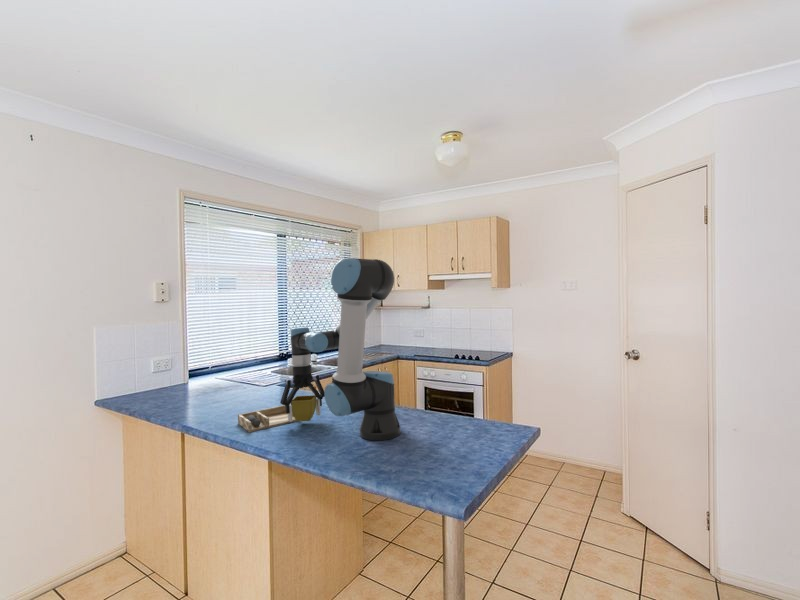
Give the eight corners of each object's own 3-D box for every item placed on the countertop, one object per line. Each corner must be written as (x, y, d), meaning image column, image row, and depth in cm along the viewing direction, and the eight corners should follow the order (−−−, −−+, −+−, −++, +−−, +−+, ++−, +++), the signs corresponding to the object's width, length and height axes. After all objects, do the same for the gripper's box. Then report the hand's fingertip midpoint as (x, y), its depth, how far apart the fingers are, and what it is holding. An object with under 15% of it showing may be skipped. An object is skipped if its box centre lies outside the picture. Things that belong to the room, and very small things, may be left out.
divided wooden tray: (299, 420, 168) (299, 411, 168) (249, 432, 155) (248, 422, 155) (286, 413, 180) (285, 404, 180) (238, 423, 167) (237, 414, 167)
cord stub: (261, 426, 160) (261, 419, 160) (254, 427, 158) (254, 420, 158) (253, 420, 168) (252, 413, 168) (246, 421, 167) (246, 415, 167)
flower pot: (312, 422, 159) (311, 399, 159) (291, 423, 159) (289, 401, 159) (317, 416, 167) (316, 395, 167) (297, 417, 167) (296, 396, 168)
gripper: (324, 360, 174) (326, 410, 173) (269, 368, 159) (272, 422, 159) (332, 361, 168) (334, 413, 167) (276, 369, 153) (279, 426, 153)
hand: (304, 417), depth 163 cm, fingers closed on flower pot, 11 cm apart
